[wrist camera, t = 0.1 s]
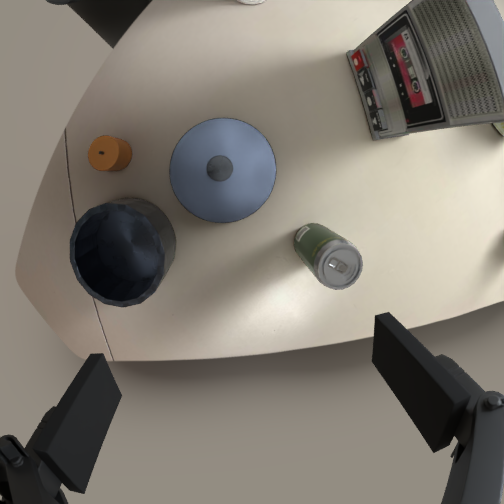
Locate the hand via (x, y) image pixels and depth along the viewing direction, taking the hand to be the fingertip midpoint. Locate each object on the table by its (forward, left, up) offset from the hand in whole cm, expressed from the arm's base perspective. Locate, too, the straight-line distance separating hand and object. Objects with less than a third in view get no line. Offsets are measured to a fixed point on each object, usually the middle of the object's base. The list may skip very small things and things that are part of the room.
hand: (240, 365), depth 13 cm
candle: (-19, -6, -28) cm, 35 cm away
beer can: (+7, +8, -29) cm, 31 cm away
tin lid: (-8, +4, -28) cm, 29 cm away
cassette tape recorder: (-5, +29, -29) cm, 41 cm away
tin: (-8, -12, -28) cm, 32 cm away
